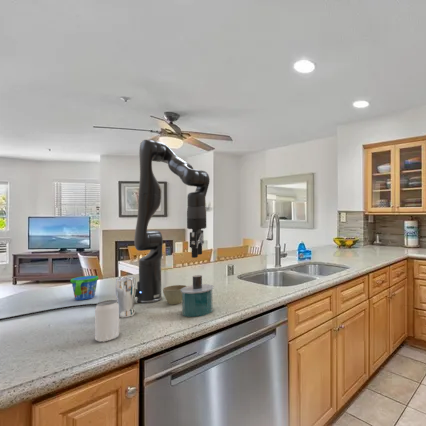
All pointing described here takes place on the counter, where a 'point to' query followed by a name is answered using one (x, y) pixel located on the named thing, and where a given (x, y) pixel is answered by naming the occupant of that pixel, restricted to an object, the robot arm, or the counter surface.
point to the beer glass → (126, 296)
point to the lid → (197, 286)
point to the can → (106, 320)
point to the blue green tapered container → (84, 287)
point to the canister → (197, 304)
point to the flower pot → (173, 294)
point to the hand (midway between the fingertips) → (197, 255)
